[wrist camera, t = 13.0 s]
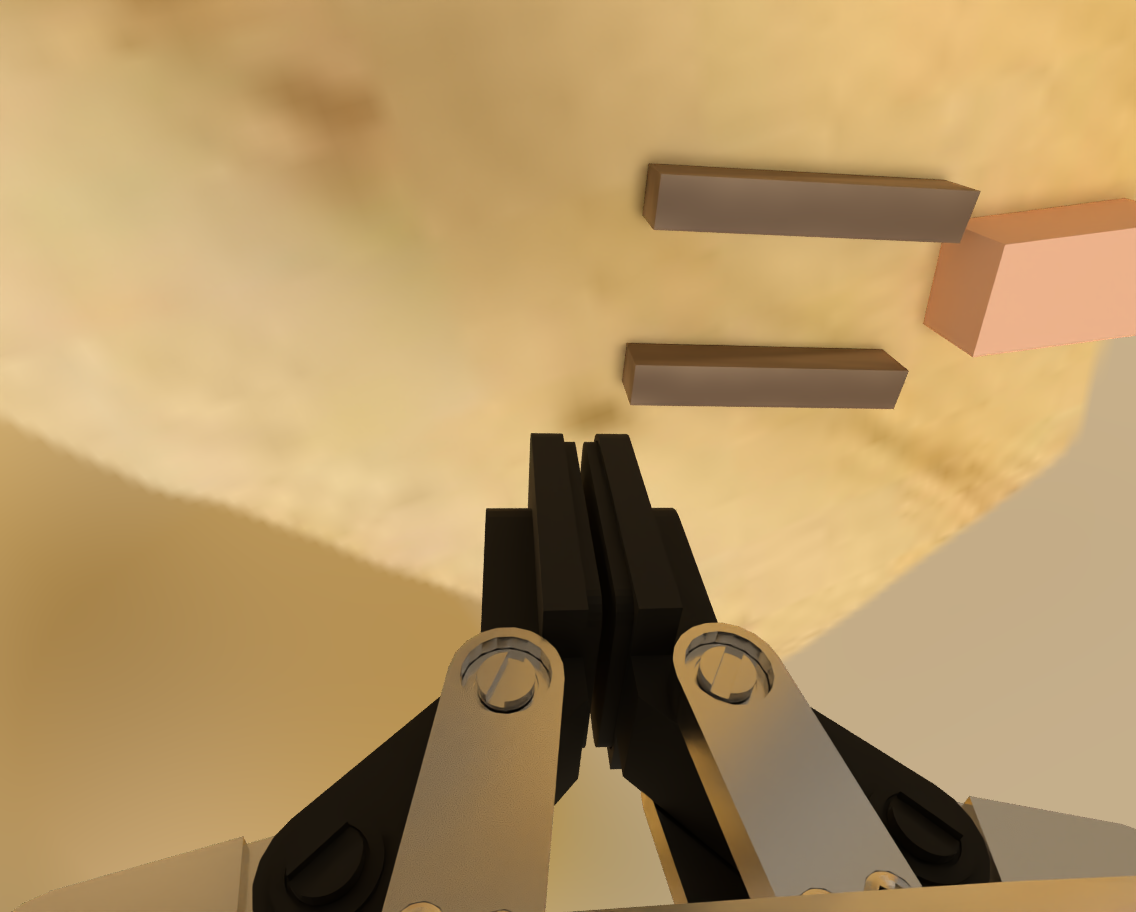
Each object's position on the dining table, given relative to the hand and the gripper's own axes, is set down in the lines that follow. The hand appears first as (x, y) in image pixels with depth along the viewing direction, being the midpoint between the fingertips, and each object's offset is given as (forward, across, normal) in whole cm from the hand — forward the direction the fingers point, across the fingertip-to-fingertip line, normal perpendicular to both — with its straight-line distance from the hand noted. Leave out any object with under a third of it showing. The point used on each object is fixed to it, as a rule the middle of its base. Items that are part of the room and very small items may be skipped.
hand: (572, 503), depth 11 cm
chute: (+25, -14, +4) cm, 29 cm away
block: (+25, -28, +2) cm, 38 cm away
